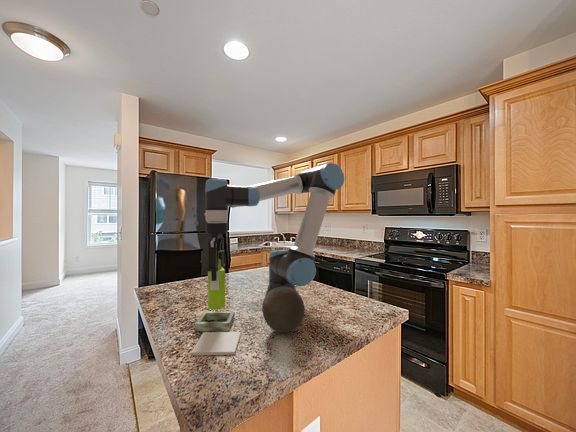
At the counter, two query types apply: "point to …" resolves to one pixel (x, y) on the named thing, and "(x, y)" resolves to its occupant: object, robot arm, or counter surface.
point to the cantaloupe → (283, 309)
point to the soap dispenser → (217, 296)
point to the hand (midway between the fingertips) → (217, 286)
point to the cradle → (214, 326)
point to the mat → (217, 343)
